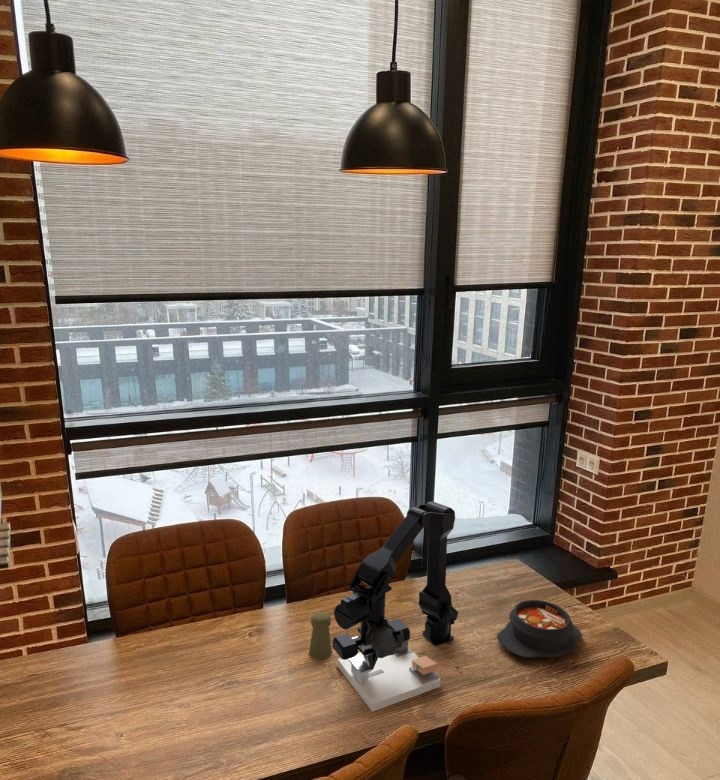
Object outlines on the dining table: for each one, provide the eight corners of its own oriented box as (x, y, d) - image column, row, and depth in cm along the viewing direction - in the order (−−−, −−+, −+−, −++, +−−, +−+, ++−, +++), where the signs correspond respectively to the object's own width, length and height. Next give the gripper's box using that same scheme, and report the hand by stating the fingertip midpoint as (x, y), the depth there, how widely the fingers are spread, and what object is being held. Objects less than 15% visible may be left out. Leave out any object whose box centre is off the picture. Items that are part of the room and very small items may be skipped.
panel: (400, 645, 166) (401, 637, 165) (440, 686, 150) (440, 677, 150) (337, 666, 157) (337, 657, 156) (372, 711, 141) (372, 701, 141)
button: (402, 641, 164) (403, 631, 163) (410, 650, 160) (411, 640, 160) (389, 645, 162) (390, 635, 161) (397, 654, 158) (398, 644, 158)
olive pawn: (328, 661, 159) (329, 622, 156) (306, 657, 160) (306, 619, 157) (334, 647, 164) (335, 609, 162) (312, 643, 166) (313, 606, 163)
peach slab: (426, 661, 154) (425, 655, 154) (437, 669, 150) (437, 663, 150) (411, 666, 152) (411, 660, 152) (422, 674, 148) (422, 668, 148)
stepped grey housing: (359, 667, 152) (359, 654, 152) (371, 682, 147) (371, 669, 147) (348, 671, 151) (348, 658, 150) (360, 686, 146) (360, 672, 145)
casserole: (547, 613, 184) (549, 587, 182) (597, 647, 168) (601, 620, 166) (481, 635, 172) (483, 608, 170) (529, 675, 156) (532, 645, 154)
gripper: (354, 640, 136) (352, 702, 139) (424, 619, 145) (421, 677, 148) (332, 614, 145) (330, 673, 149) (399, 596, 154) (396, 651, 157)
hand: (370, 669), depth 150 cm, fingers closed
